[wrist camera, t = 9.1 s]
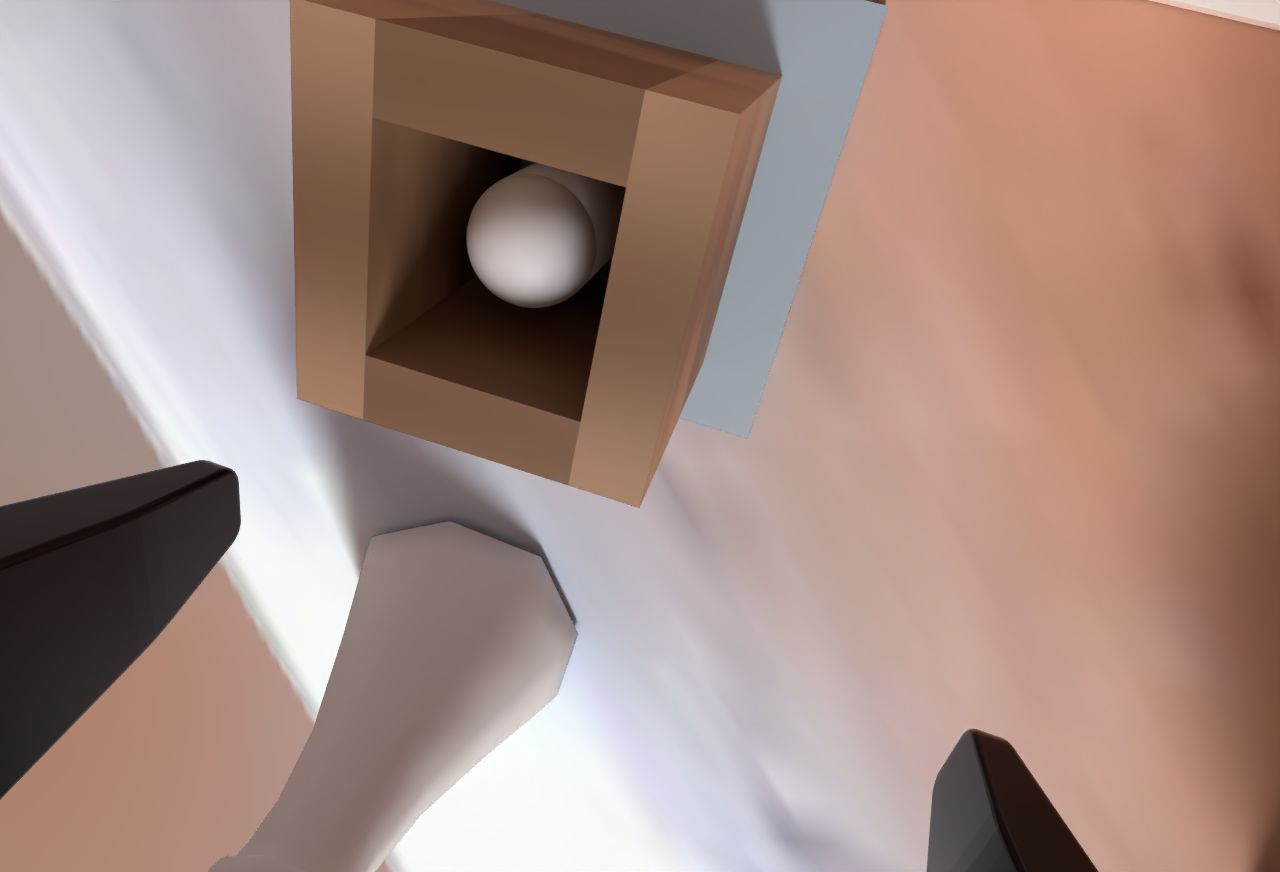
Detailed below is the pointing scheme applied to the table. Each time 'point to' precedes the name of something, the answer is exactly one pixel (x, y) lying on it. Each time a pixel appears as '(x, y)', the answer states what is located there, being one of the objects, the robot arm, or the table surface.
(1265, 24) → the rod stand
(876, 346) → the table surface
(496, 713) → the flask
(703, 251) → the walnut collar
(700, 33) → the plate
